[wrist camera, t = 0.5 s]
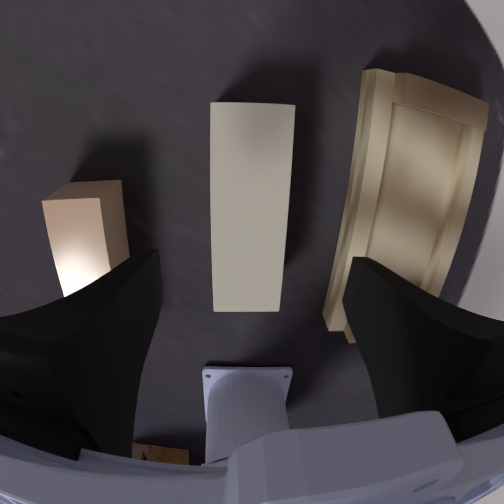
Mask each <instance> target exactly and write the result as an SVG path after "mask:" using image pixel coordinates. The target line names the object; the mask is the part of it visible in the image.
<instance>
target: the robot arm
mask: <svg viewBox="0 0 504 504" xmlns="http://www.w3.org/2000/svg"><path fill="white" fill-rule="evenodd" d="M162 298H163V293H162V283H161V272H160V260H159V249H141V250H139V251H138V252H136V253H135V254H133V255H132V256H130V257H129V258H128V259H126V260H125V261H123V262H122V263H121V264H119V265H118V266H116V267H115V268H113V269H112V270H111V271H109V272H107V273H106V274H104V275H103V276H101V277H100V278H98V279H97V280H95V281H93V282H92V283H90V284H89V285H87V286H85V287H83V288H81V289H79V290H78V291H76V292H74V293H72V294H70V295H68V296H65V297H63V298H61V299H58V300H56V301H53V302H51V303H49V304H46V305H44V306H41V307H38V308H35V309H32V310H29V311H25V312H22V313H18V314H14V315H10V316H5V317H0V504H472V503H474V502H476V501H478V500H480V499H481V498H483V497H485V496H487V495H488V494H490V493H491V492H493V491H495V490H496V489H498V488H500V487H501V486H503V485H504V321H500V320H495V319H491V318H488V317H485V316H481V315H478V314H475V313H472V312H470V311H467V310H465V309H462V308H459V307H457V306H455V305H452V304H450V303H448V302H446V301H444V300H442V299H440V298H437V297H435V296H433V295H432V294H430V293H428V292H426V291H424V290H423V289H421V288H419V287H417V286H416V285H414V284H412V283H411V282H409V281H407V280H406V279H404V278H403V277H401V276H400V275H398V274H396V273H395V272H393V271H392V270H390V269H388V268H387V267H385V266H384V265H382V264H380V263H378V262H377V261H375V260H373V259H371V258H369V257H356V256H353V258H352V262H351V266H350V271H349V275H348V279H347V283H346V287H345V290H344V294H343V298H342V303H343V307H344V311H345V315H346V318H347V322H348V324H349V327H350V329H351V332H352V334H353V336H354V339H355V341H356V343H357V346H358V348H359V350H360V353H361V355H362V357H363V360H364V362H365V365H366V367H367V370H368V373H369V376H370V380H371V384H372V388H373V391H374V395H375V400H376V405H377V410H378V415H379V419H376V420H370V421H363V422H357V423H350V424H342V425H333V426H324V427H313V428H300V429H291V430H289V425H288V418H287V412H286V405H285V402H286V398H287V394H288V390H289V386H290V382H291V378H292V374H293V371H292V368H291V367H220V366H205V367H204V368H203V372H202V373H203V388H204V402H205V415H206V422H207V428H206V453H205V464H201V466H193V465H180V464H170V463H161V462H153V461H145V460H138V459H132V442H133V430H134V420H135V411H136V404H137V396H138V390H139V384H140V378H141V373H142V369H143V365H144V362H145V359H146V356H147V353H148V349H149V346H150V343H151V340H152V337H153V334H154V331H155V328H156V325H157V322H158V319H159V314H160V309H161V303H162ZM207 374H209V375H207Z"/></svg>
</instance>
